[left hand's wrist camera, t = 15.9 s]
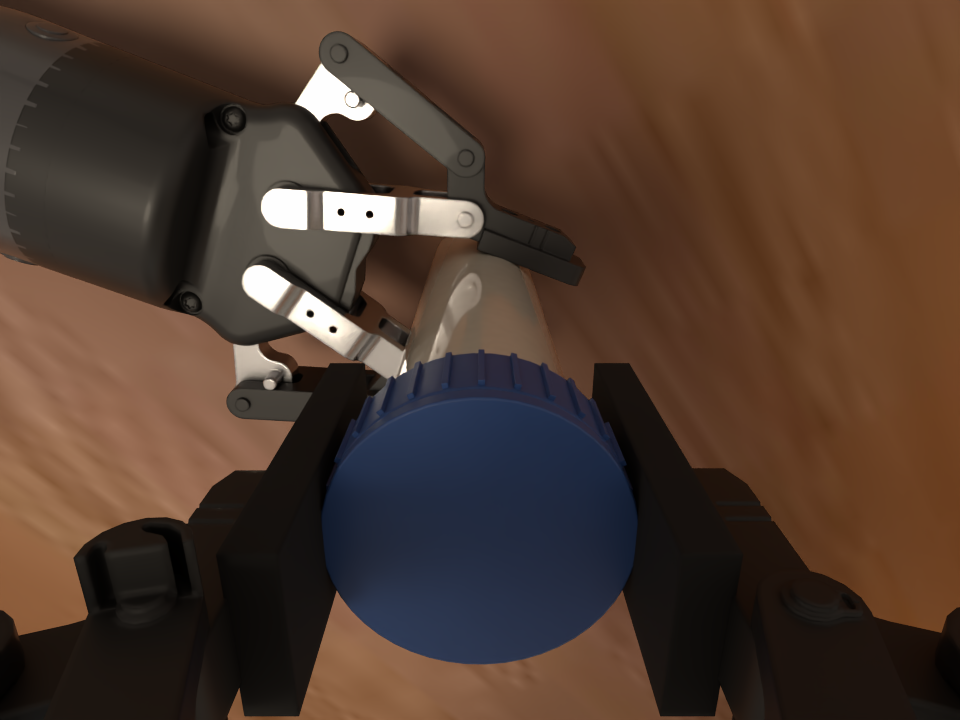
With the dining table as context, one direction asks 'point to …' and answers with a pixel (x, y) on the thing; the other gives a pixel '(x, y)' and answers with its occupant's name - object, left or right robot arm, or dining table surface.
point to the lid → (479, 511)
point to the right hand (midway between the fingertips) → (549, 332)
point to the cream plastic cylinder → (477, 310)
